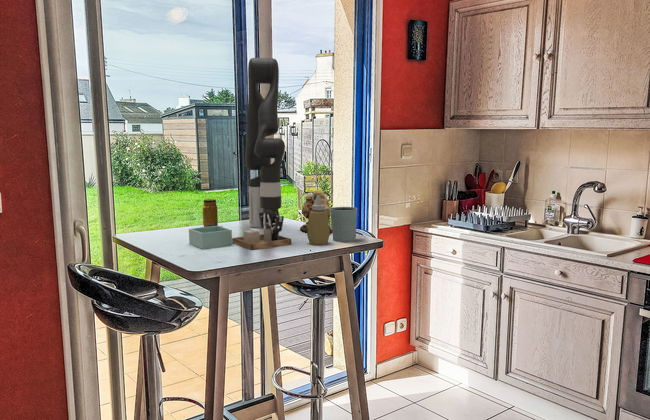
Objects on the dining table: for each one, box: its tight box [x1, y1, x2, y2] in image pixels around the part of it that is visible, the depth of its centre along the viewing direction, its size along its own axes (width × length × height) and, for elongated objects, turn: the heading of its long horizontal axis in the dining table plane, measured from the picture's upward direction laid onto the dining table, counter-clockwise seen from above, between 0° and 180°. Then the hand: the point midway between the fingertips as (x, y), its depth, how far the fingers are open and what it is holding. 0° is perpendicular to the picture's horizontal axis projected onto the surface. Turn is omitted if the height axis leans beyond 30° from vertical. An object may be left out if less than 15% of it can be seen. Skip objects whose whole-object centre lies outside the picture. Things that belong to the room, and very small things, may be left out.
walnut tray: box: [232, 233, 292, 251], centre depth 195 cm, size 16×14×3 cm
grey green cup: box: [329, 206, 358, 243], centre depth 205 cm, size 10×10×12 cm
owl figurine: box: [299, 189, 333, 235], centre depth 222 cm, size 18×12×17 cm, turn 34°
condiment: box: [202, 198, 224, 227], centre depth 231 cm, size 7×8×12 cm
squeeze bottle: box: [306, 195, 331, 246], centre depth 195 cm, size 8×8×18 cm
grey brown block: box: [263, 228, 280, 242], centre depth 197 cm, size 4×4×5 cm
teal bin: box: [188, 225, 233, 250], centre depth 194 cm, size 11×11×6 cm
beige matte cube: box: [242, 229, 261, 244], centre depth 192 cm, size 4×4×5 cm
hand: (271, 241), depth 197 cm, fingers closed on grey brown block, 4 cm apart
